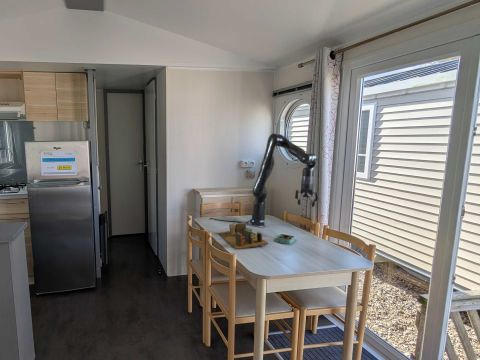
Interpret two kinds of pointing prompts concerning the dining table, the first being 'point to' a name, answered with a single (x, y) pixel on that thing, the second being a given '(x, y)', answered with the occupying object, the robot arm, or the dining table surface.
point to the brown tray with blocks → (242, 236)
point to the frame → (285, 237)
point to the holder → (285, 240)
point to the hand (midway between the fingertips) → (306, 205)
